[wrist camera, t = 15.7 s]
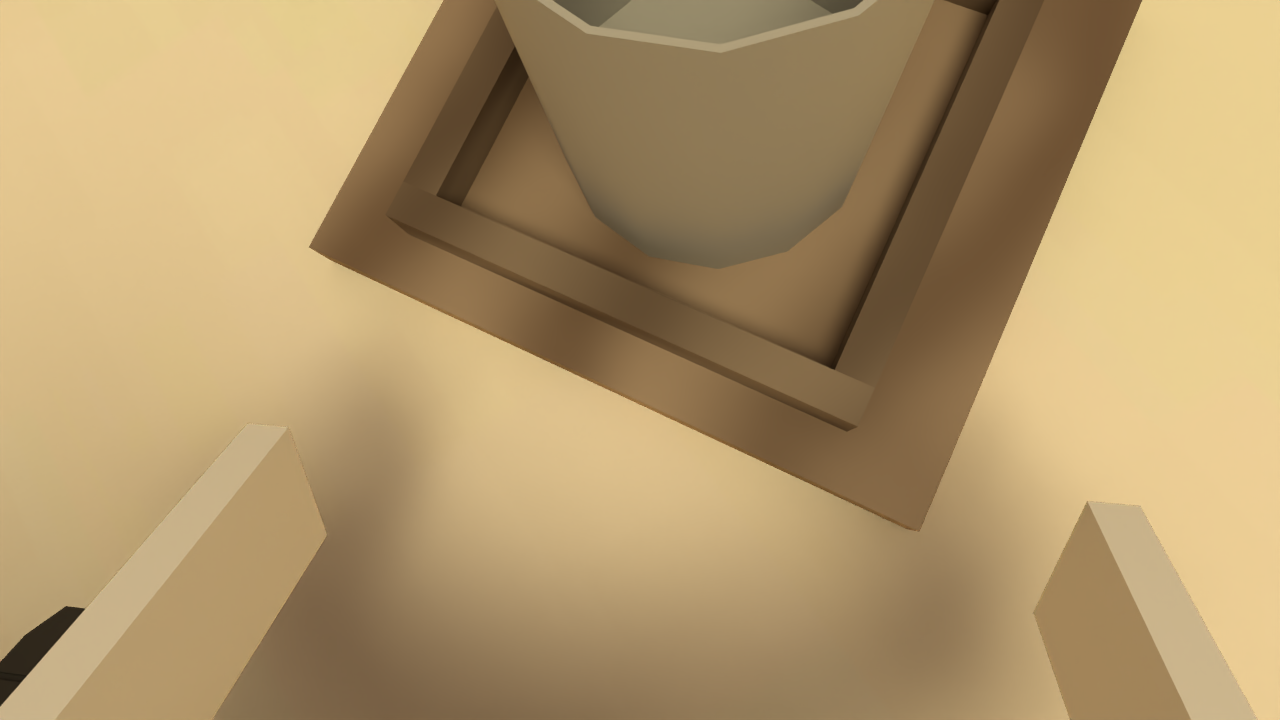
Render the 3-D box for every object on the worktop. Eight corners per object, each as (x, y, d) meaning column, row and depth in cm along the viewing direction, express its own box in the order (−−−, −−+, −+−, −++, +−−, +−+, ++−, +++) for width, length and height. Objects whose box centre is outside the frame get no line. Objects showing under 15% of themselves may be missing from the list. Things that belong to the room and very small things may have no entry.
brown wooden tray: (330, 260, 22) (278, 228, 20) (566, -177, 24) (548, -259, 22) (906, 529, 19) (937, 534, 17) (1126, 8, 21) (1184, -61, 19)
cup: (518, 66, 22) (353, -291, 12) (775, -65, 21) (826, -535, 12) (647, 321, 20) (582, 155, 10) (927, 181, 20) (1137, -126, 10)
